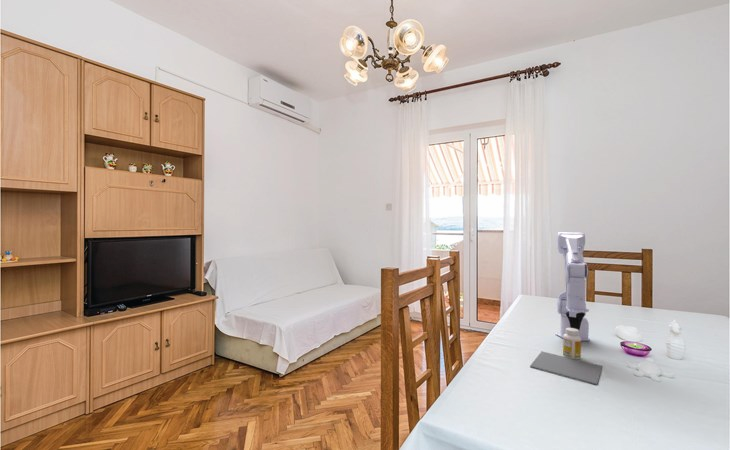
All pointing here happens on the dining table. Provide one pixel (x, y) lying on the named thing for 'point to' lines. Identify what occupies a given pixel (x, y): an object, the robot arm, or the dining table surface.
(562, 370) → the slate mat
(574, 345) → the supplement bottle
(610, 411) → the dining table surface
